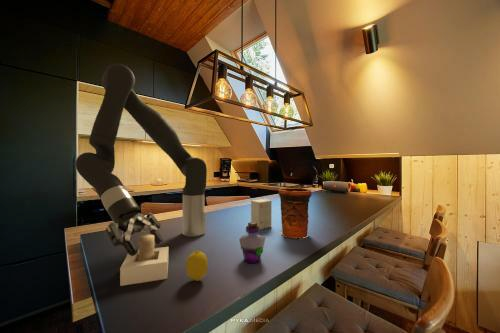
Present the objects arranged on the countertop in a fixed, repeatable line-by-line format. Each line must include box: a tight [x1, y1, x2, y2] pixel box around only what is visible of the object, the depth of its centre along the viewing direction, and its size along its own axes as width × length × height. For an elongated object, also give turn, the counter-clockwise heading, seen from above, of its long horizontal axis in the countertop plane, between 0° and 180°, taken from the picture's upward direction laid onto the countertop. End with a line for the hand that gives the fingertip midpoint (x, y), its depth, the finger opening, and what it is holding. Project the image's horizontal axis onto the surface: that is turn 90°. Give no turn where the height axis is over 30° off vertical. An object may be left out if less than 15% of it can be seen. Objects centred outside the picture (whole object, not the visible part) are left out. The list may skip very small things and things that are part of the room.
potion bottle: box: [239, 221, 266, 265], centre depth 69 cm, size 9×9×12 cm
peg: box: [138, 234, 155, 262], centre depth 61 cm, size 4×4×10 cm
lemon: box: [185, 249, 209, 282], centre depth 56 cm, size 6×6×8 cm
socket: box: [119, 246, 170, 287], centre depth 61 cm, size 11×11×4 cm
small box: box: [250, 198, 272, 231], centre depth 104 cm, size 8×6×13 cm
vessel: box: [277, 187, 313, 240], centre depth 94 cm, size 14×14×20 cm
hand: (148, 248), depth 61 cm, fingers open, 8 cm apart
